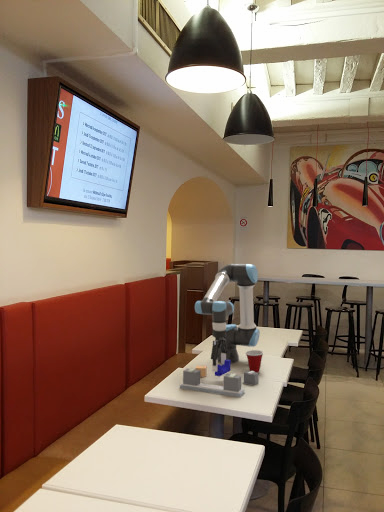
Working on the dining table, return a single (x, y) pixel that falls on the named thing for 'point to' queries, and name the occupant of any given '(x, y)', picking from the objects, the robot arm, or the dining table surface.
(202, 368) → the terminal block
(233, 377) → the rail fixture
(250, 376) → the block
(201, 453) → the dining table surface
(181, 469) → the dining table surface
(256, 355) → the plastic cup
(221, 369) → the cable clip
